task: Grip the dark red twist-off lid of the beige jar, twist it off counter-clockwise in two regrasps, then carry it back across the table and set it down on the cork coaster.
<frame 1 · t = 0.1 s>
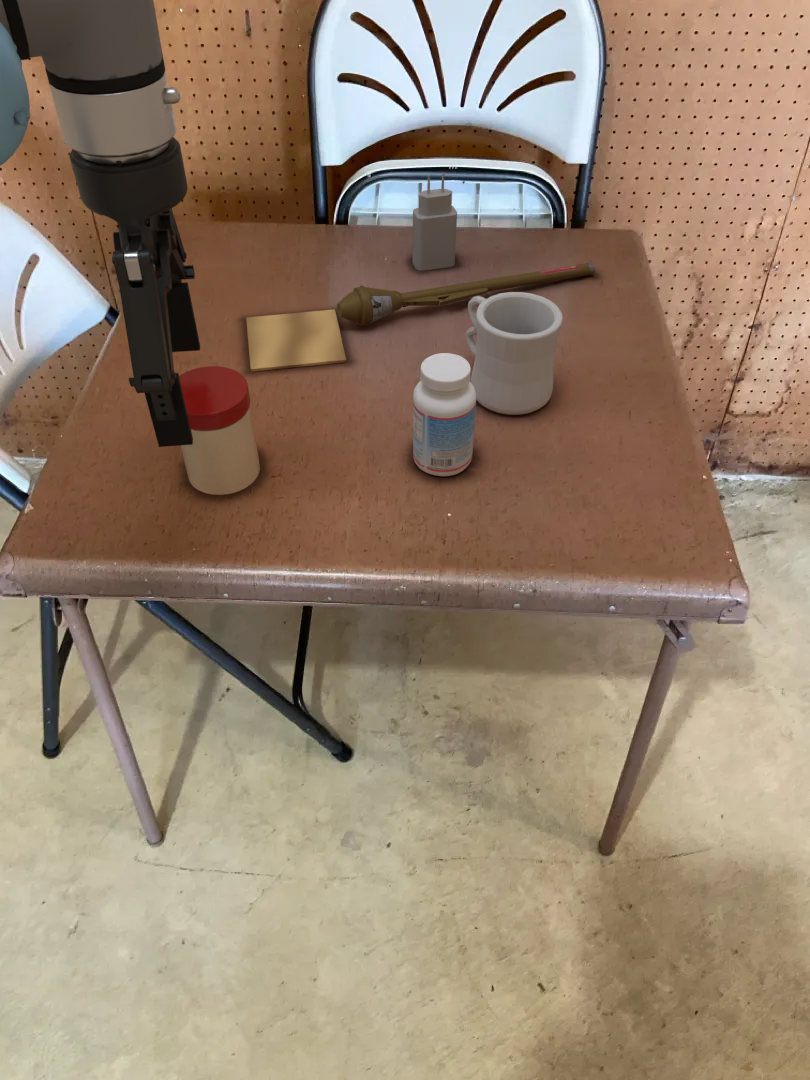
hand: (181, 393, 73), 12 cm above the table, tool pointing down, fingers open, 13 cm apart
lid: (208, 393, 78), point 10 cm above the table, screwed on, not yet turned
coaster: (294, 340, 101), on the table
power adapter: (433, 264, 113), on the table
beige jar: (224, 470, 85), on the table
mug: (500, 387, 95), on the table
pill bottle: (442, 460, 86), on the table
toy grenade launcher: (470, 301, 107), on the table
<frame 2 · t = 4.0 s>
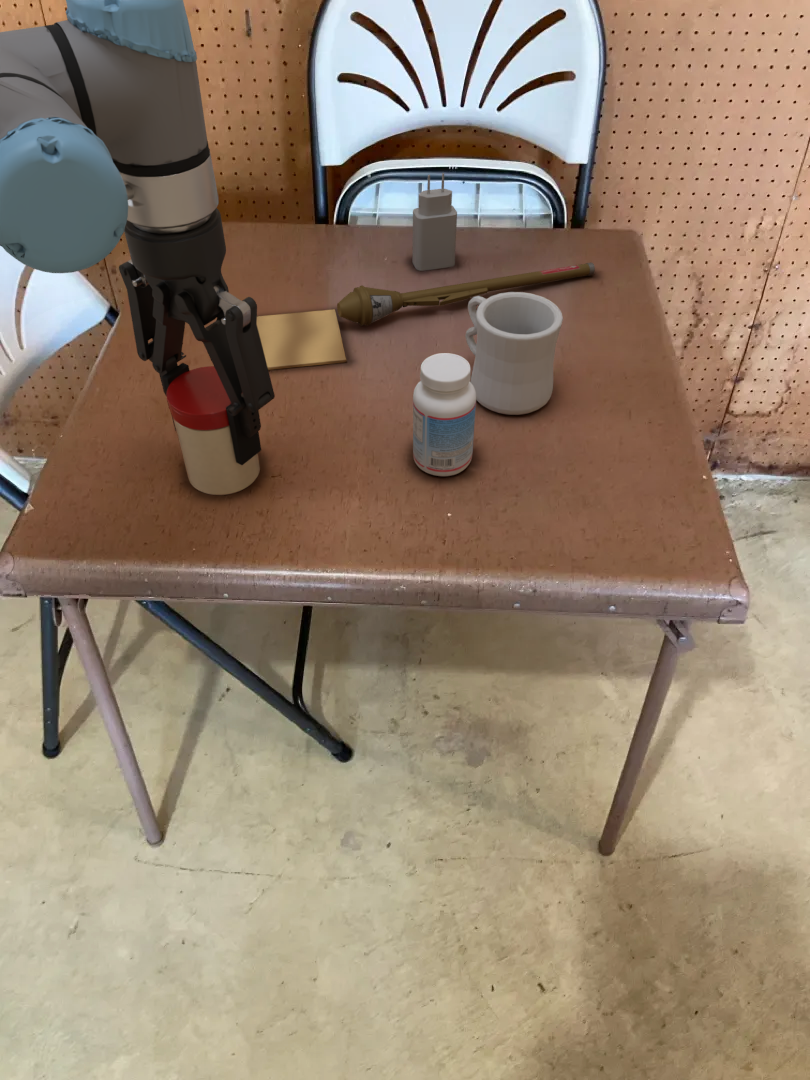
hand: (217, 440, 82), 4 cm above the table, tool pointing down, fingers closed on lid, 7 cm apart
lid: (208, 393, 78), point 10 cm above the table, screwed on, not yet turned, touching gripper
everything else where it was.
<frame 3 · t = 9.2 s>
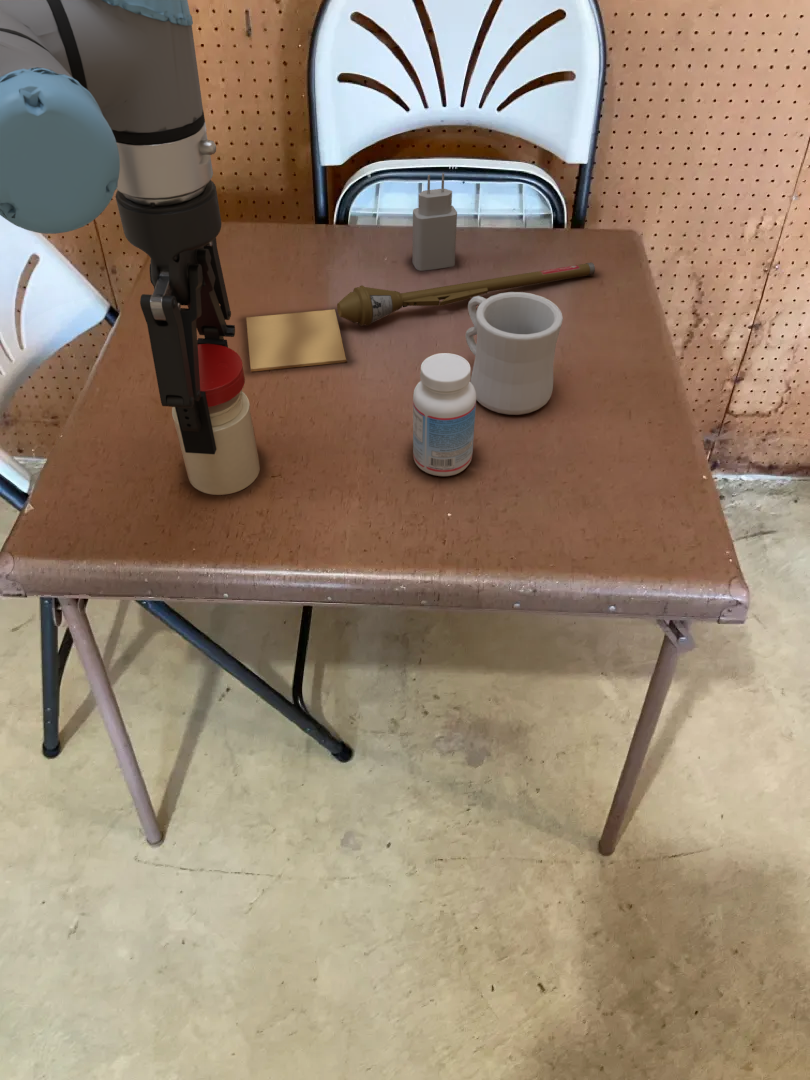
hand: (211, 423, 80), 6 cm above the table, tool pointing down, fingers closed on lid, 7 cm apart
lid: (201, 370, 76), point 12 cm above the table, off its thread, touching gripper
everything else where it was.
when the fingers open (2 cm above the table, at t = 15.7 s): lid drops 6 cm, resting on coaster.
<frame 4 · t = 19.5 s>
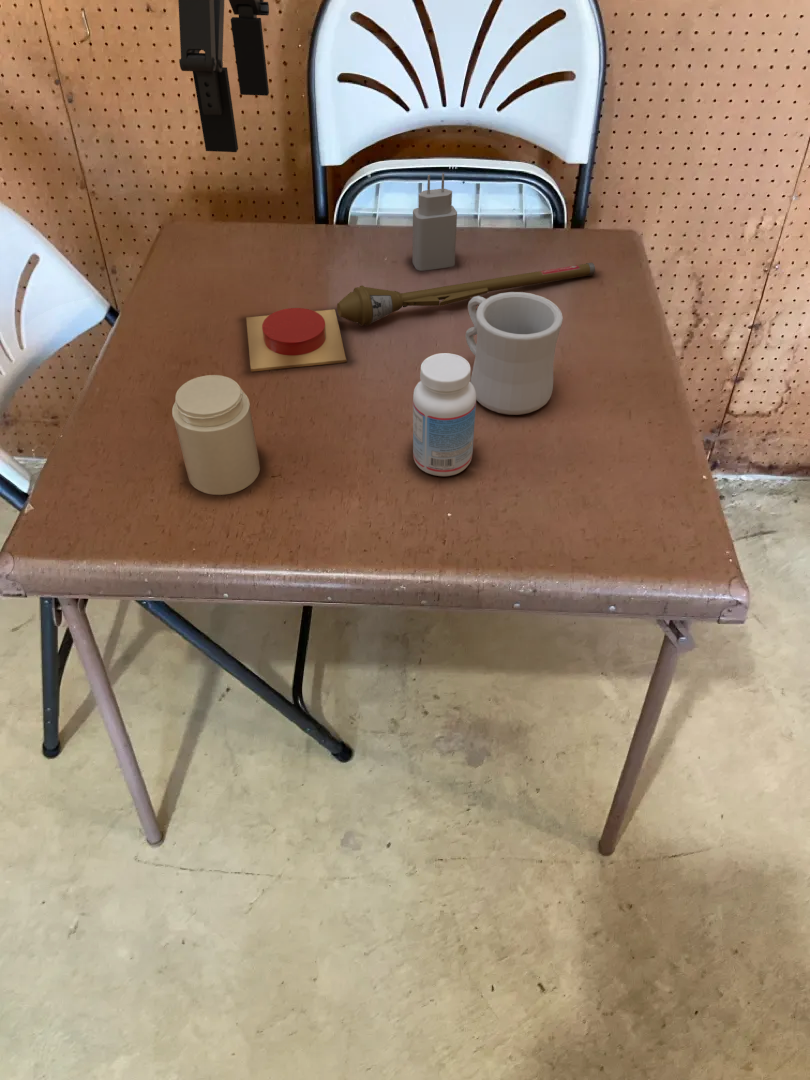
hand: (239, 120, 78), 27 cm above the table, tool pointing down, fingers open, 13 cm apart
lid: (293, 327, 99), point 2 cm above the table, off its thread, touching coaster
everything else where it was.
at the end: lid came off its thread; lid inside the target area on the coaster (0.1 cm from its centre), point 1.8 cm above the coaster's base; the gripper is holding nothing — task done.
